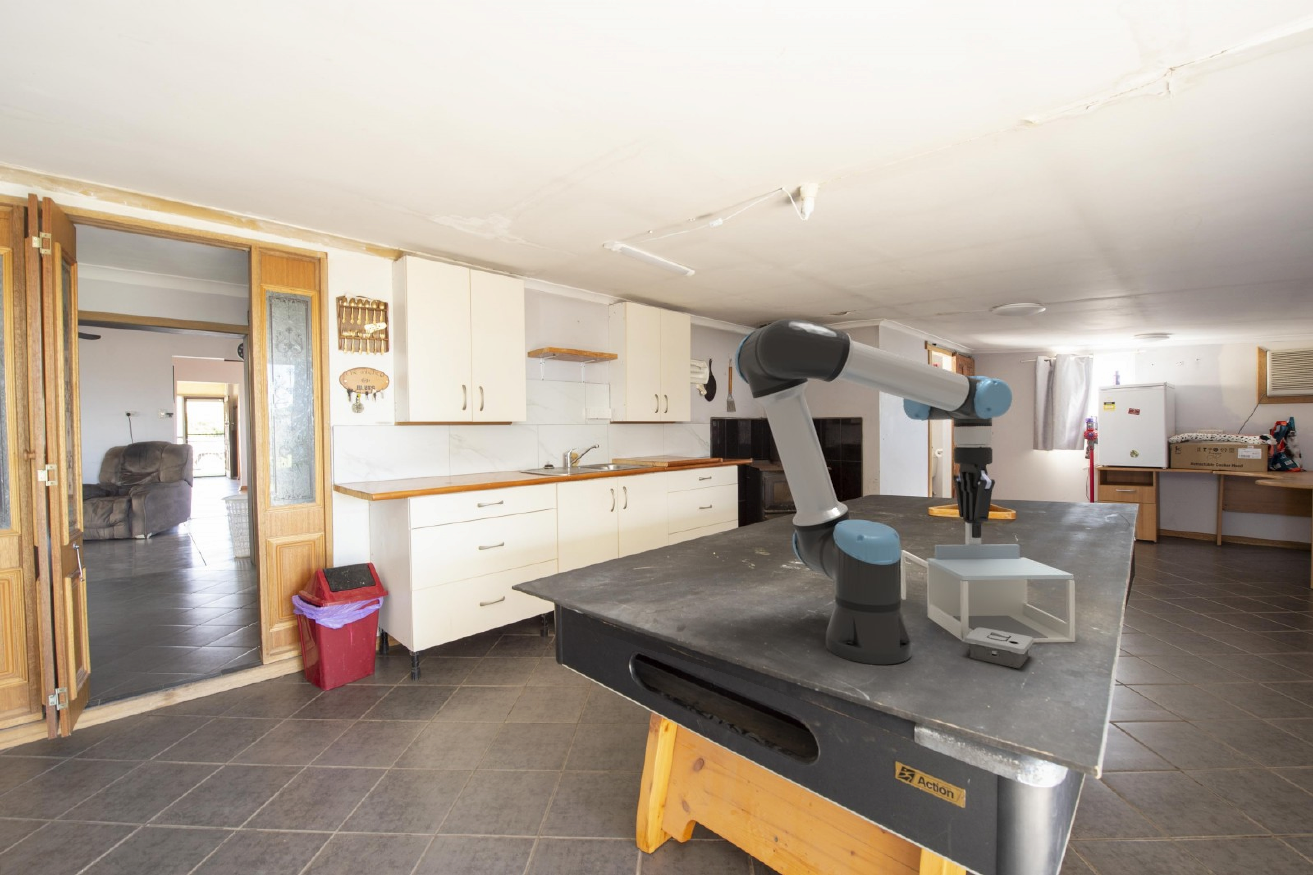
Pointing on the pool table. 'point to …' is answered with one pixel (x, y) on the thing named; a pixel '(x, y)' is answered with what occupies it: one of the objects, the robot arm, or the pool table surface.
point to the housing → (990, 605)
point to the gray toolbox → (999, 646)
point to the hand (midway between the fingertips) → (973, 551)
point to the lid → (991, 563)
